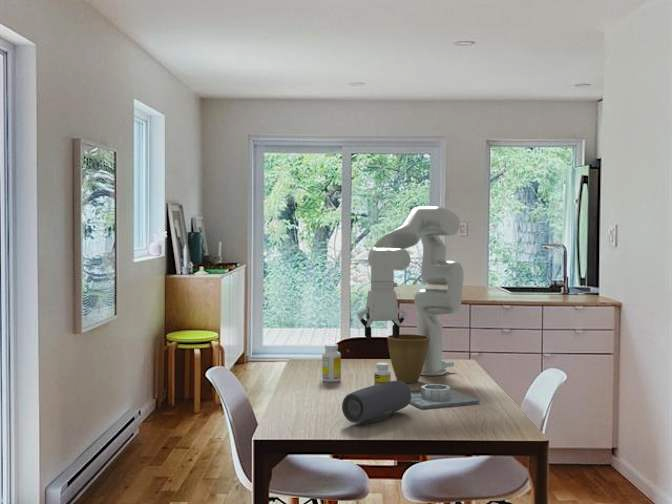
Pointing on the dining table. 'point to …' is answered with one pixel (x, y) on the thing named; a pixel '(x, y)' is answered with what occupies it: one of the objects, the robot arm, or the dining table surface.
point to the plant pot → (408, 356)
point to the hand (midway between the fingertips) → (381, 338)
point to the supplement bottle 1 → (331, 363)
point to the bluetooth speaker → (376, 402)
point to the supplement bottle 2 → (382, 374)
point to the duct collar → (439, 397)
